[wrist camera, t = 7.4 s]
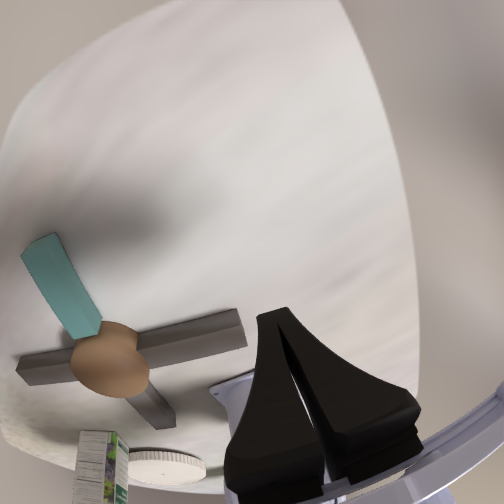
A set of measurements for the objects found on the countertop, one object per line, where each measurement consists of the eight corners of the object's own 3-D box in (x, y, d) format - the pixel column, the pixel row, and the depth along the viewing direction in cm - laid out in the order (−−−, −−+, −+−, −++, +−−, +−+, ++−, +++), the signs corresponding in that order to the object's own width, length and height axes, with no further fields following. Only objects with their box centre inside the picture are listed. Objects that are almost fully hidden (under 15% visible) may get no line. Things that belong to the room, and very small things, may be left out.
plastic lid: (201, 444, 36) (203, 459, 33) (206, 472, 42) (208, 483, 40) (108, 442, 33) (107, 456, 31) (132, 472, 40) (132, 483, 37)
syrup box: (130, 447, 34) (131, 534, 21) (96, 446, 33) (92, 528, 20) (114, 430, 31) (112, 527, 18) (78, 429, 30) (69, 520, 18)
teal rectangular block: (102, 317, 22) (97, 334, 20) (79, 323, 22) (73, 339, 20) (55, 232, 18) (44, 245, 16) (31, 242, 17) (20, 255, 16)
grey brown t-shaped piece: (265, 392, 31) (271, 414, 28) (85, 422, 29) (83, 441, 27) (229, 287, 23) (235, 312, 20) (8, 341, 21) (-1, 362, 19)
